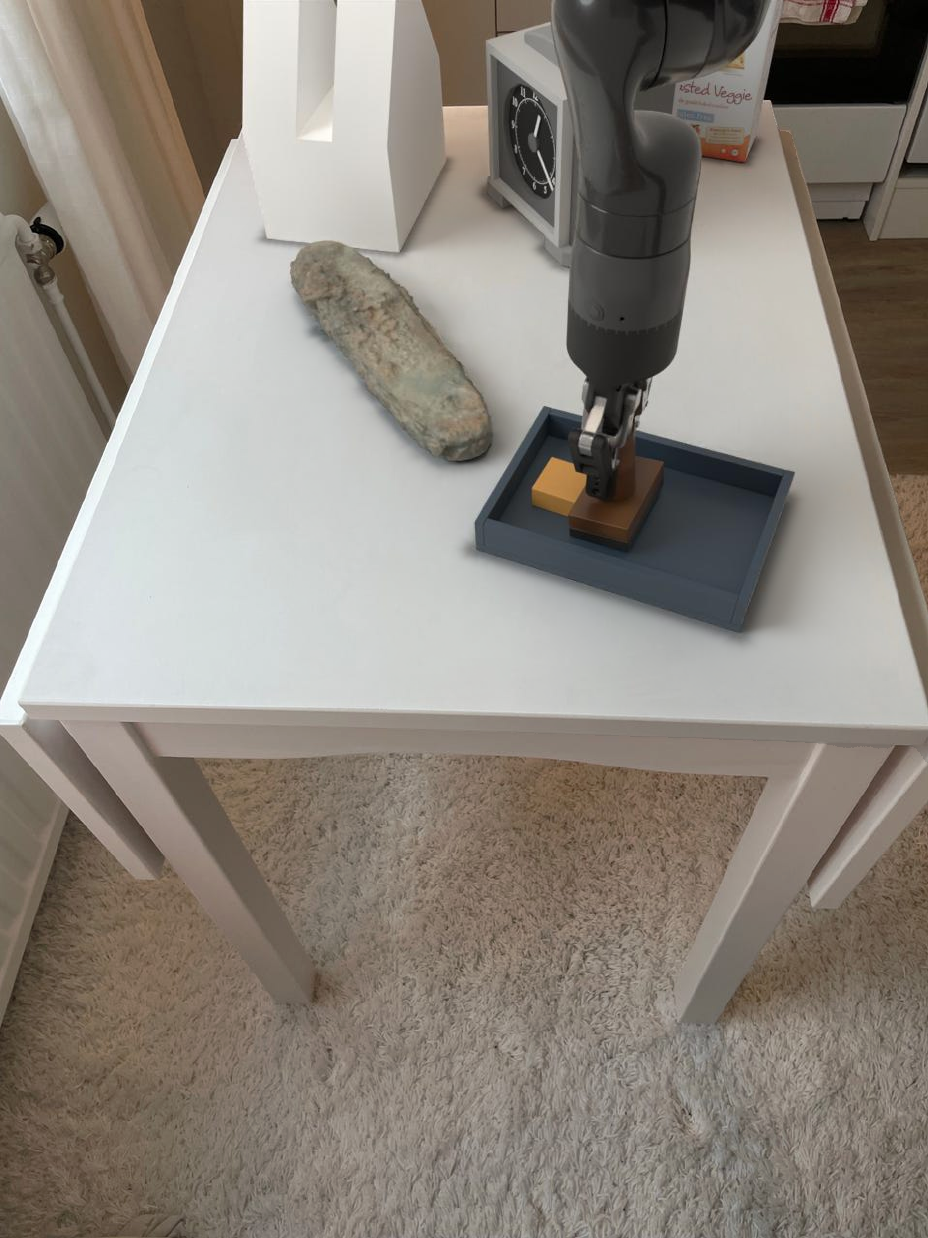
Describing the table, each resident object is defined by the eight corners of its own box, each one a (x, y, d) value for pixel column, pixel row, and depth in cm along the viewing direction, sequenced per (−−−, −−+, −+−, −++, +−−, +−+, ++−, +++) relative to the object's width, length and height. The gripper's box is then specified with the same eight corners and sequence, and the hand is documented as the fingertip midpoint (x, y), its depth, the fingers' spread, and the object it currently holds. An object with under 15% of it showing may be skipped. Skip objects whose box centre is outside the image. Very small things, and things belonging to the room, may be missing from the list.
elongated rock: (422, 495, 83) (520, 456, 86) (422, 451, 79) (525, 412, 82) (268, 276, 100) (354, 250, 103) (260, 230, 96) (350, 205, 99)
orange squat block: (595, 487, 80) (596, 470, 78) (576, 520, 78) (577, 503, 76) (551, 473, 81) (551, 456, 79) (531, 505, 79) (531, 487, 77)
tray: (786, 500, 79) (795, 471, 76) (739, 632, 71) (747, 606, 68) (543, 433, 85) (543, 405, 82) (475, 549, 77) (473, 521, 75)
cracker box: (627, 148, 113) (645, -57, 96) (641, 123, 117) (661, -79, 100) (745, 165, 110) (786, -44, 93) (756, 140, 113) (797, -67, 96)
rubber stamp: (664, 484, 79) (665, 401, 72) (628, 551, 75) (626, 471, 68) (607, 471, 81) (603, 390, 74) (569, 536, 77) (562, 456, 70)
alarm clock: (483, 189, 109) (476, 13, 95) (581, 157, 113) (590, -19, 98) (566, 269, 99) (573, 86, 85) (671, 231, 102) (696, 48, 88)
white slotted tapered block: (325, 150, 117) (283, -95, 96) (446, 160, 114) (429, -89, 94) (267, 238, 106) (207, -17, 86) (399, 252, 103) (369, -8, 83)
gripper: (647, 370, 57) (623, 557, 71) (714, 244, 64) (680, 435, 78) (531, 341, 59) (529, 528, 73) (608, 222, 66) (593, 412, 80)
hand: (607, 479), depth 75 cm, fingers closed on rubber stamp, 3 cm apart
